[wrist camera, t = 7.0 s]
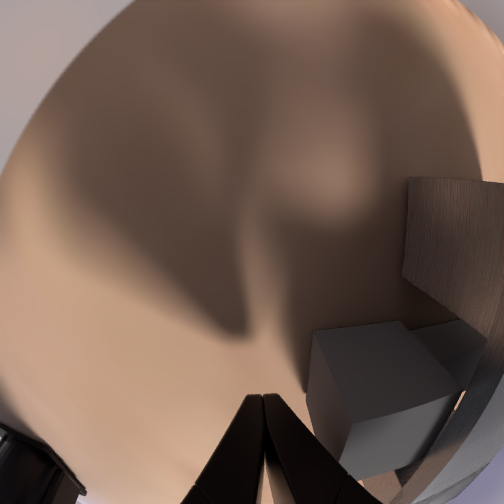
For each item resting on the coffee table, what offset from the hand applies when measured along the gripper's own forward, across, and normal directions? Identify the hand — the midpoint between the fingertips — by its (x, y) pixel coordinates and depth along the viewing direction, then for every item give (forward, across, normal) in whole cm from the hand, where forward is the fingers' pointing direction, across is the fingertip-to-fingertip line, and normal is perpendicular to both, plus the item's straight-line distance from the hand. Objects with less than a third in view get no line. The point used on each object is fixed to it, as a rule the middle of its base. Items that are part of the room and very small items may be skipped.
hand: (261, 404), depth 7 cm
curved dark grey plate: (+2, -6, 0) cm, 7 cm away
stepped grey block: (+2, -7, 0) cm, 7 cm away
